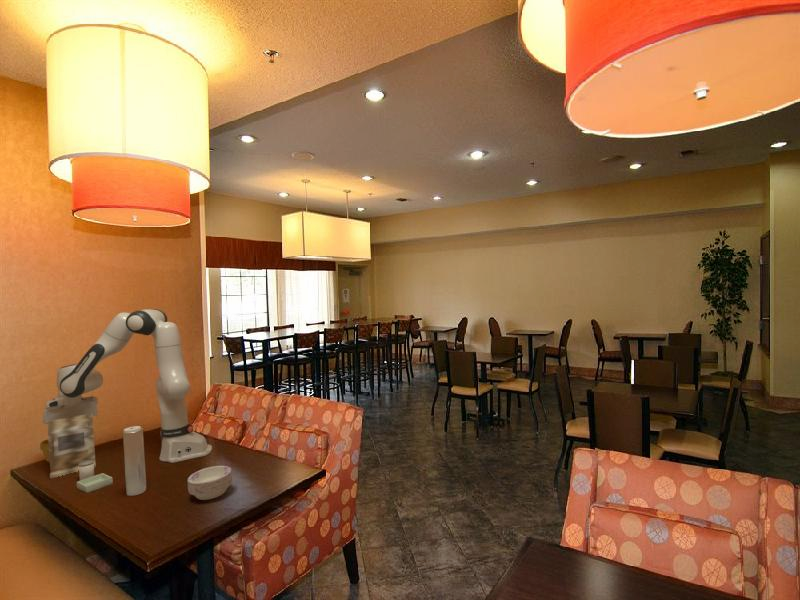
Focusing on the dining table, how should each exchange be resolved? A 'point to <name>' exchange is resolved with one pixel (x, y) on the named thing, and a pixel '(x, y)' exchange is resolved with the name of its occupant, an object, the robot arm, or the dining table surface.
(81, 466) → the cartridge
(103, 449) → the dining table surface
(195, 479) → the paper bowls
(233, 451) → the dining table surface
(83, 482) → the service tray
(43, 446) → the plant pot
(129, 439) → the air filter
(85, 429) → the plate
